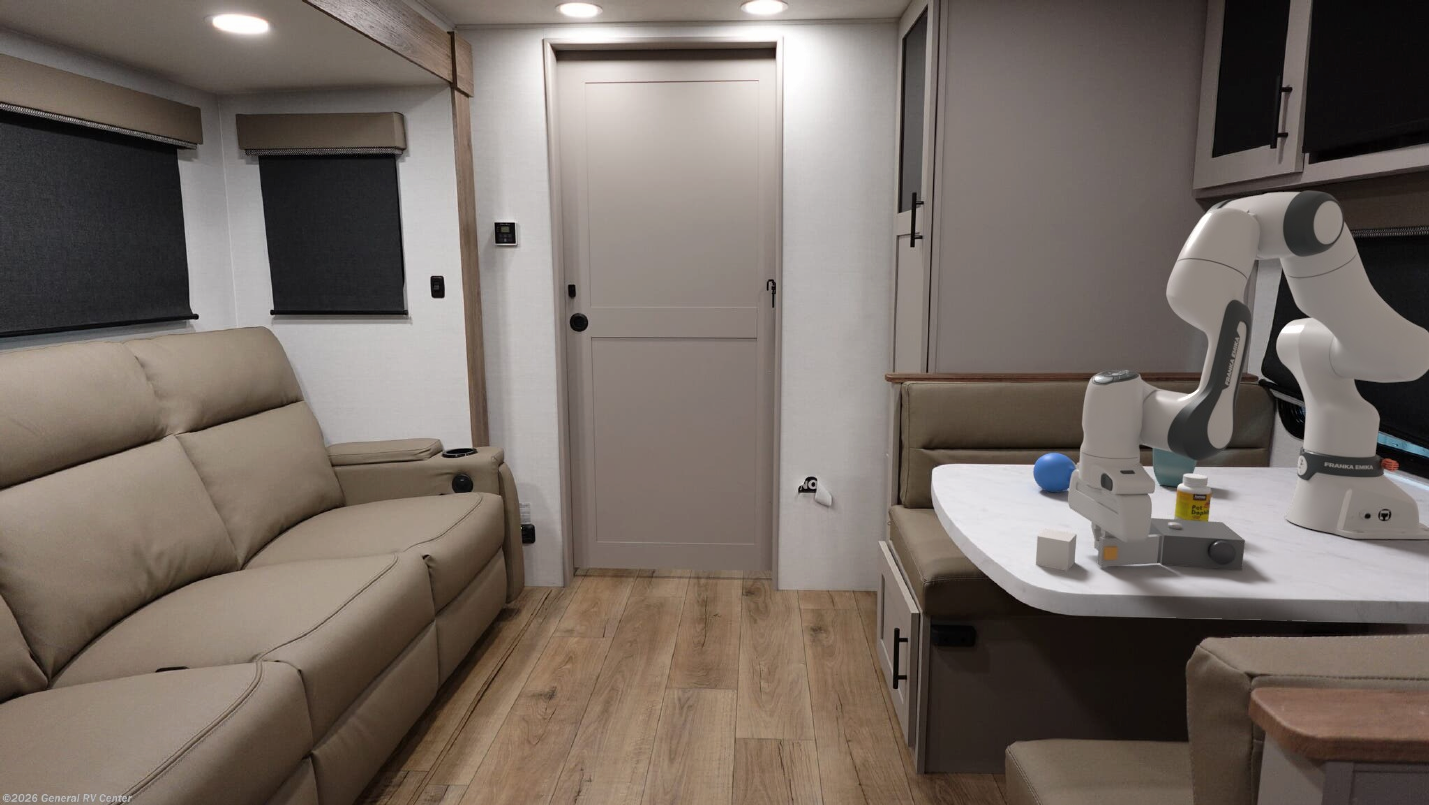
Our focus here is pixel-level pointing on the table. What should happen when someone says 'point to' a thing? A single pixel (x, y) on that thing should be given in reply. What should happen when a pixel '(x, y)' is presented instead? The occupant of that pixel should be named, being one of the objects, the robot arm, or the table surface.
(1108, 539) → the side door
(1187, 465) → the flower pot
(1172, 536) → the camera body
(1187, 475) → the supplement bottle
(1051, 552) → the white cube
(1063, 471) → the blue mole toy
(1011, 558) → the table surface
